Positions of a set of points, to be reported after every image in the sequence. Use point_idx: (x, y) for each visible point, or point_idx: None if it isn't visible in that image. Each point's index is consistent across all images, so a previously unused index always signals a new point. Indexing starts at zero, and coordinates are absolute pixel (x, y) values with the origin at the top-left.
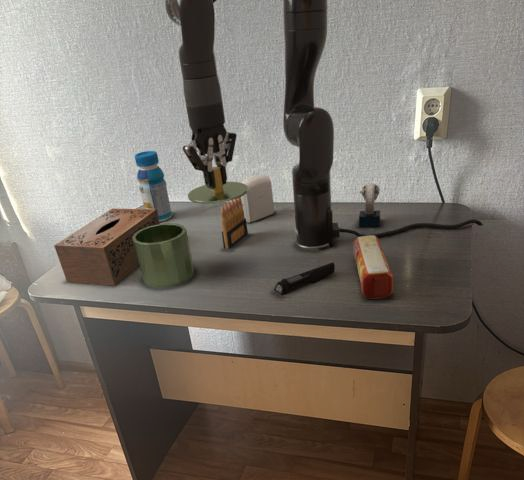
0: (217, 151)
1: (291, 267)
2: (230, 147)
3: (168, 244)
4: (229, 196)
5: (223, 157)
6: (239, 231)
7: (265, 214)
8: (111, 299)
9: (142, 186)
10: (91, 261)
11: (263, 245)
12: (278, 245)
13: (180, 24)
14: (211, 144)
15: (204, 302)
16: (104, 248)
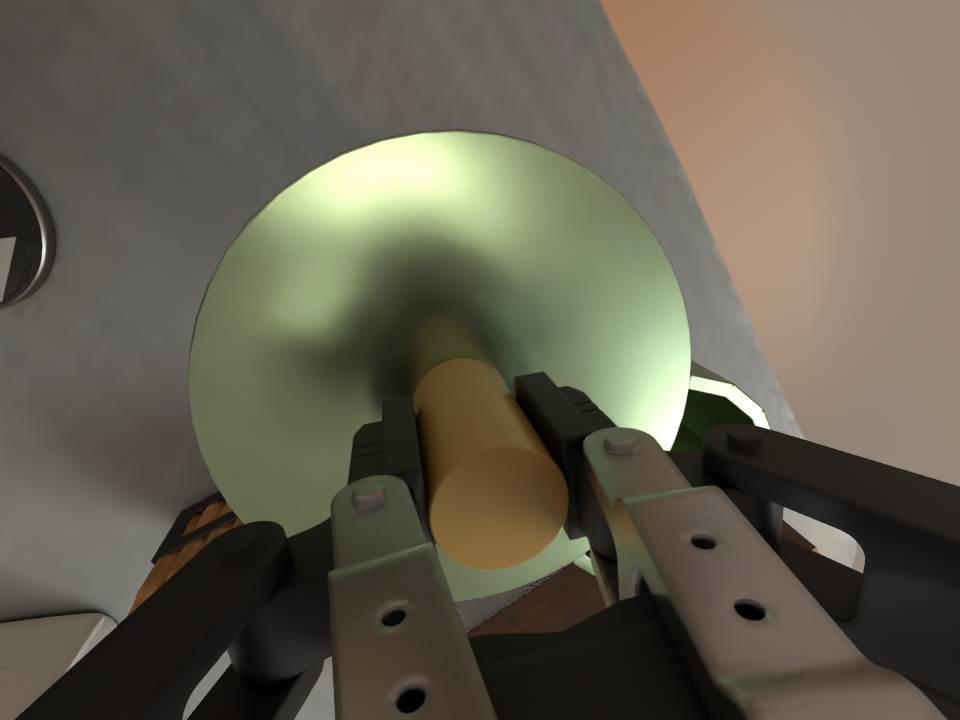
0: (489, 642)
1: (198, 108)
2: (120, 717)
3: (694, 371)
4: (480, 190)
5: (371, 554)
6: (223, 509)
7: (5, 628)
8: (769, 394)
9: None
10: None
11: (179, 388)
12: (122, 341)
13: None
14: (824, 712)
15: (616, 142)
16: (808, 547)
